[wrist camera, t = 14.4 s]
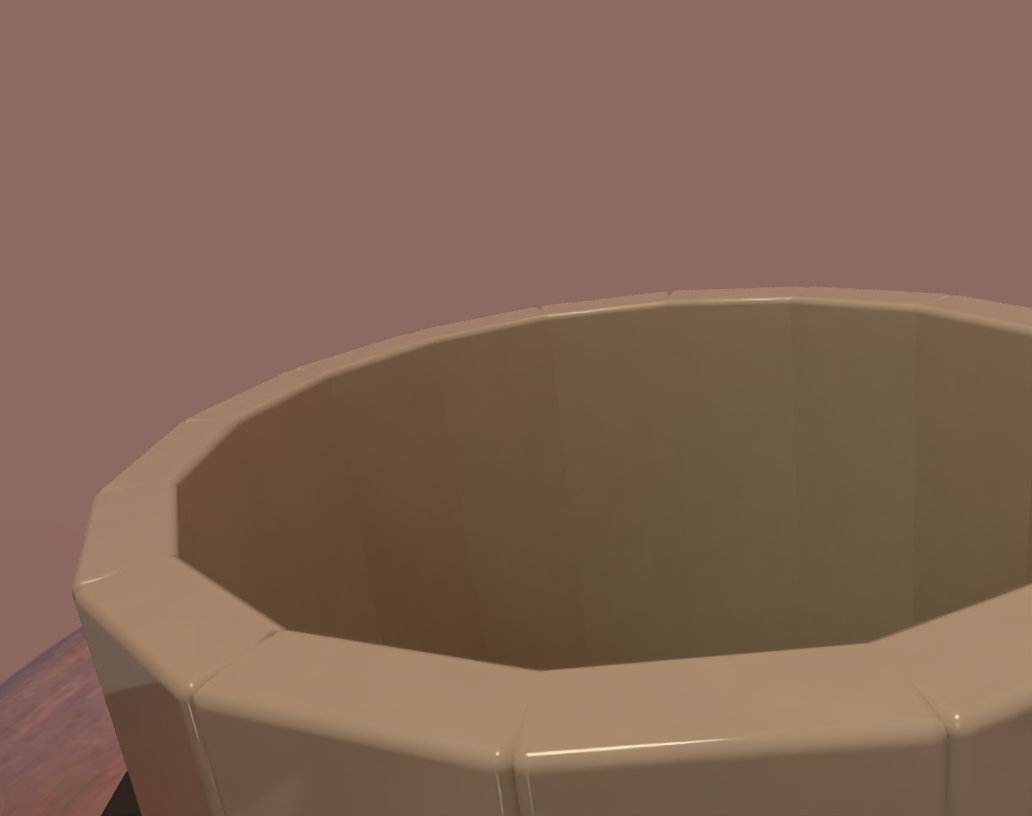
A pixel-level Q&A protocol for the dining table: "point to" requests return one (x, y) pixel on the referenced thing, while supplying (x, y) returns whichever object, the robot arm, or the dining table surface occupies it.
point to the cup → (590, 569)
